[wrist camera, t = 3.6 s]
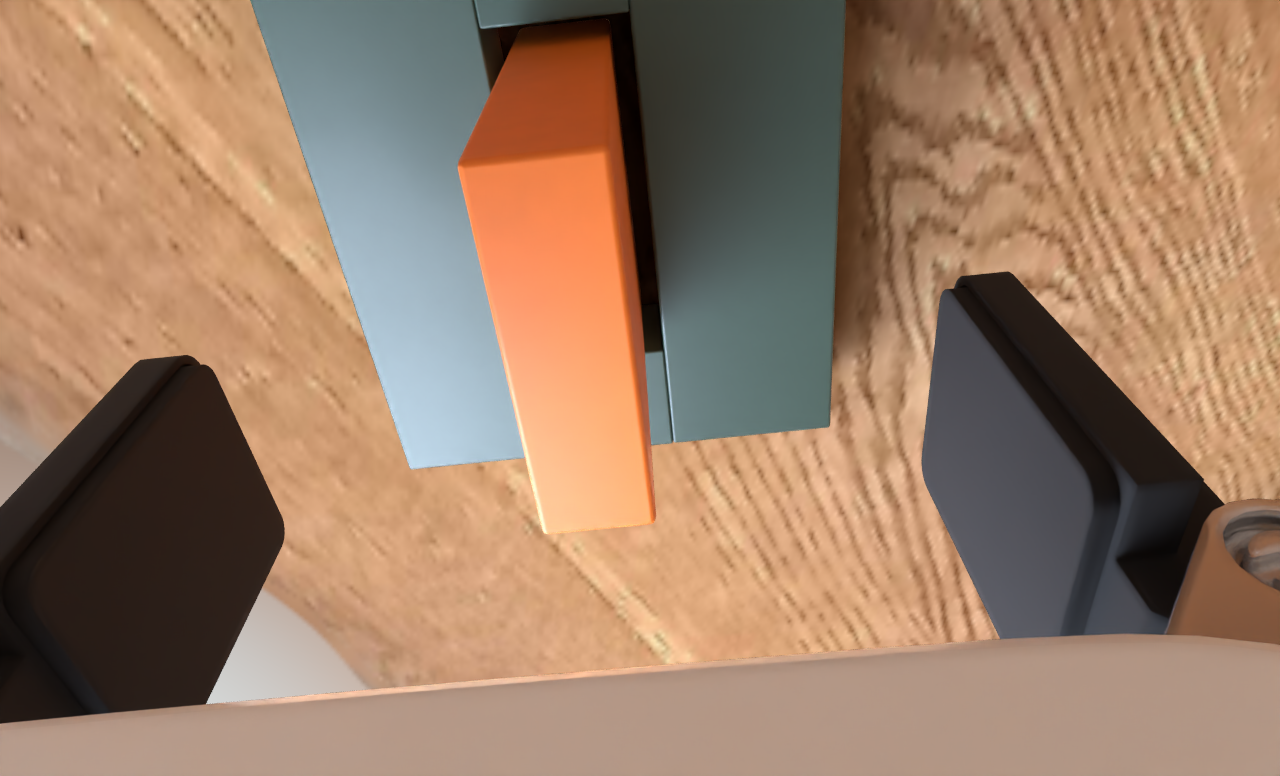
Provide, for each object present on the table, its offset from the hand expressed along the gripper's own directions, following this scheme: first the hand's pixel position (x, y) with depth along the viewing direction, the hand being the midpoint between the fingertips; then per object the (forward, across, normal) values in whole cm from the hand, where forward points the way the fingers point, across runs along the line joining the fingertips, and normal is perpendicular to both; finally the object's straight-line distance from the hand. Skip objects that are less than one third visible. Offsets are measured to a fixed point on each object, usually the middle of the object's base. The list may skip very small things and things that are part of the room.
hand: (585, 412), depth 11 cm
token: (+9, 0, 0) cm, 9 cm away
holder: (+9, 0, 0) cm, 9 cm away
